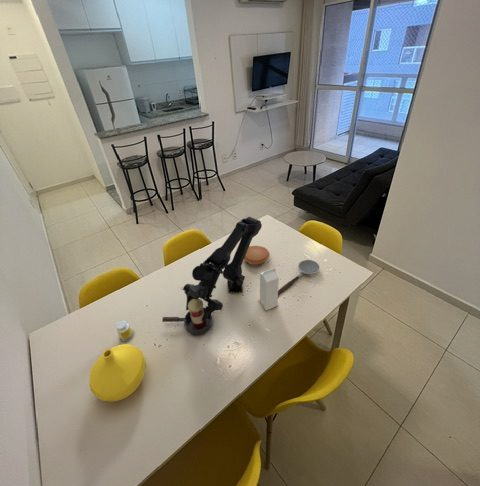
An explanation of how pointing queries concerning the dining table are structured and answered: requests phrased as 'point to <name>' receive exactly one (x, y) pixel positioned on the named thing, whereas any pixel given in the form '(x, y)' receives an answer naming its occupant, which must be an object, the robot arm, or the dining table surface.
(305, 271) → the spoon
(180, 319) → the pan handle
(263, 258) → the pie
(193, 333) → the pan
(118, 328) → the supplement bottle
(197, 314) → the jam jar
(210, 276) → the robot arm
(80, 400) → the dining table surface
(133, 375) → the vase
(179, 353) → the dining table surface
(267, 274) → the milk
